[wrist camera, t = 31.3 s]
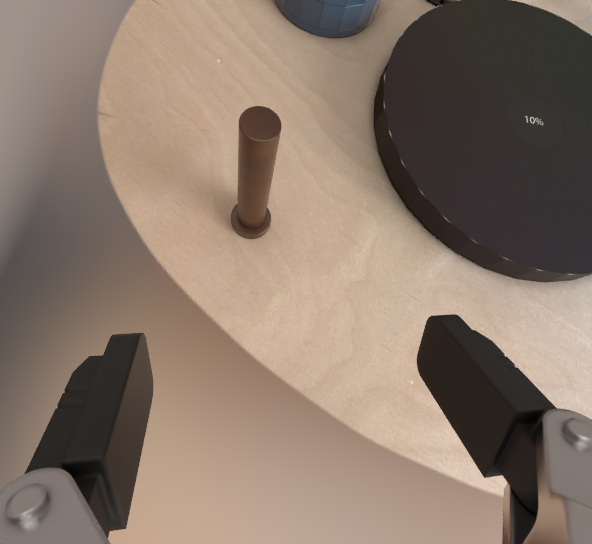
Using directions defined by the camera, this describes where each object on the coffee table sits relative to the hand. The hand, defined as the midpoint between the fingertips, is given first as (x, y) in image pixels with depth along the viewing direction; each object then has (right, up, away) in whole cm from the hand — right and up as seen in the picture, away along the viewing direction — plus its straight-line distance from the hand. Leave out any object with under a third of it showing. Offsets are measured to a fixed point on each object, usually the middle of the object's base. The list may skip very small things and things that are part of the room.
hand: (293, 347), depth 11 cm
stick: (-4, +6, +20) cm, 22 cm away
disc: (+22, +16, +28) cm, 39 cm away
